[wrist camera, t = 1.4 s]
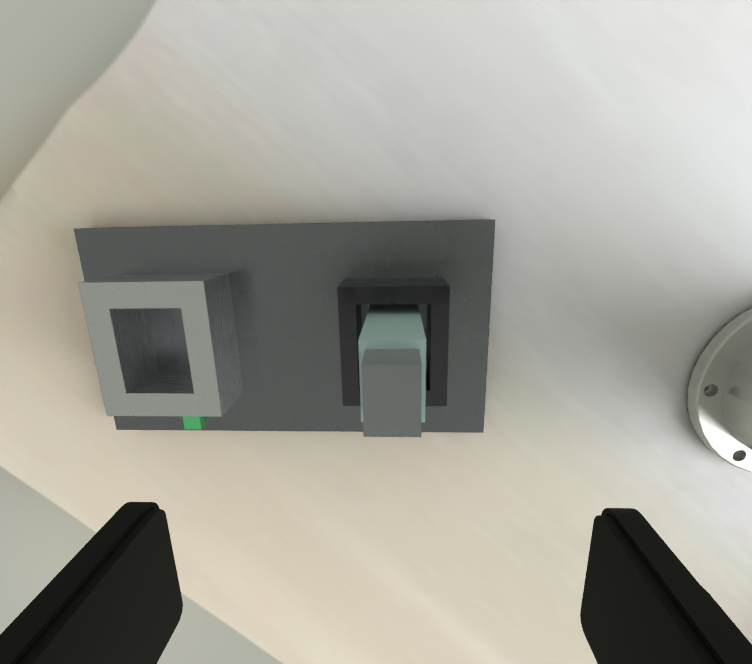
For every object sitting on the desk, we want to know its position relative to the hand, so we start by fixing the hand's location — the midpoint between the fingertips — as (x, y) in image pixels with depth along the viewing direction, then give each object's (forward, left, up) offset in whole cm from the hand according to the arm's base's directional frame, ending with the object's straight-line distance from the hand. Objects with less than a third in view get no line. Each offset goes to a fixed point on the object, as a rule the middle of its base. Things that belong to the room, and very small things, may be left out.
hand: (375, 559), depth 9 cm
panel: (+7, 0, -20) cm, 21 cm away
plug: (0, 0, -18) cm, 18 cm away
